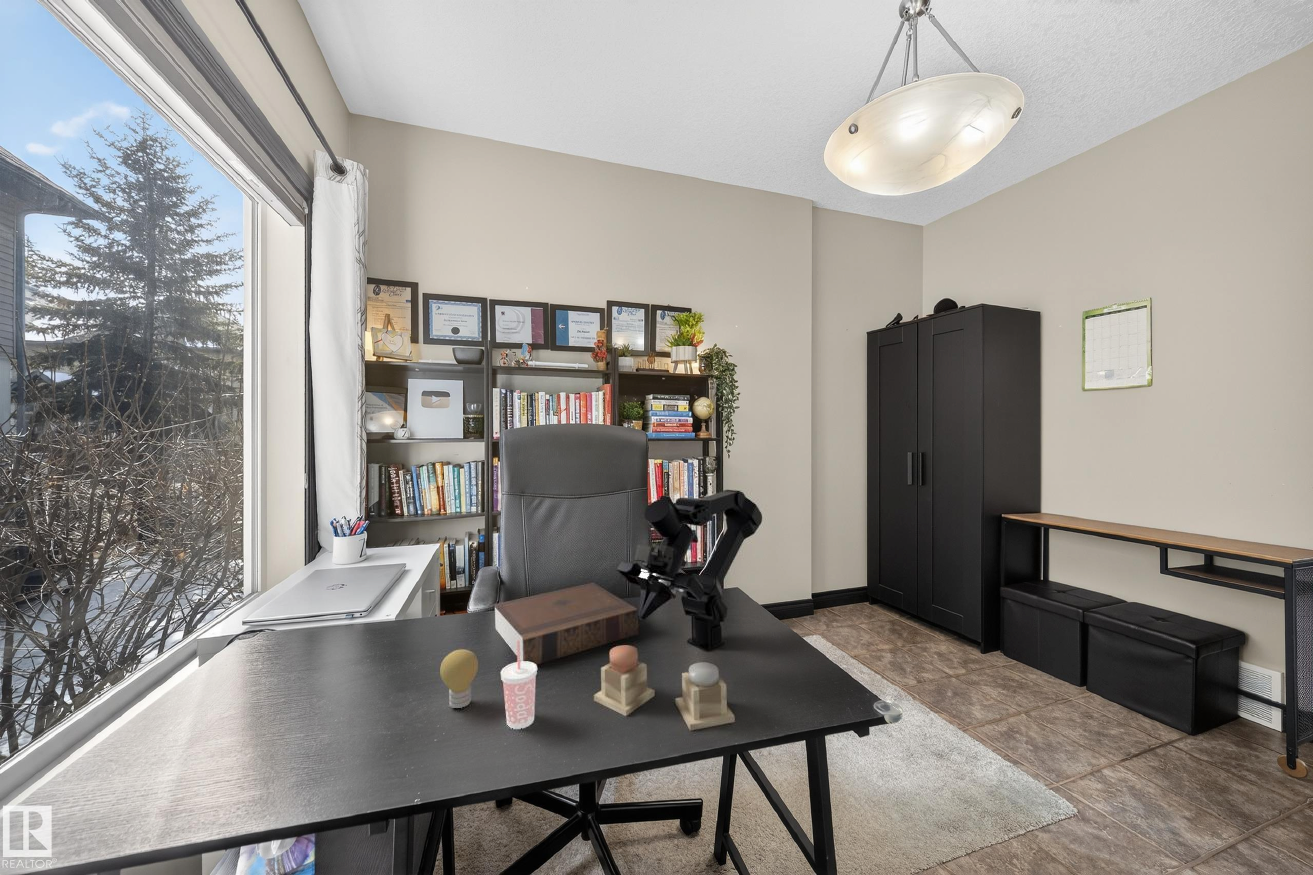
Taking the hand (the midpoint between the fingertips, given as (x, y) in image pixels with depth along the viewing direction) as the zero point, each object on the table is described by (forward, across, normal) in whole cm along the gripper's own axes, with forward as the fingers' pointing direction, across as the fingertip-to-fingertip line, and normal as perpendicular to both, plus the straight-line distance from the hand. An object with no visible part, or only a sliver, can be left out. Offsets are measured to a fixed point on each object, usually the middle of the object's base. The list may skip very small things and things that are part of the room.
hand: (640, 618), depth 93 cm
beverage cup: (+24, -10, -6) cm, 27 cm away
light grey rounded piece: (+9, +14, +8) cm, 19 cm away
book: (+5, -32, +15) cm, 35 cm away
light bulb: (+27, -23, -9) cm, 36 cm away
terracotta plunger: (+11, 0, +4) cm, 12 cm away
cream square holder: (+13, 0, +6) cm, 14 cm away
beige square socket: (+10, +14, +9) cm, 19 cm away
